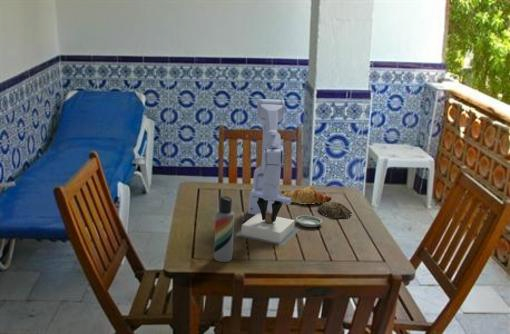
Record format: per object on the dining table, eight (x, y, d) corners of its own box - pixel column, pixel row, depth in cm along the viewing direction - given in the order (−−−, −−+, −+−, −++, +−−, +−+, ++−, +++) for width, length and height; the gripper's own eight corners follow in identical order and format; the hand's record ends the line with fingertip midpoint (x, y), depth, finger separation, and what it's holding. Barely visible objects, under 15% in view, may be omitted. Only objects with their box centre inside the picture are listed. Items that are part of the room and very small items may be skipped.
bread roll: (314, 210, 220) (315, 198, 219) (341, 207, 225) (342, 196, 224) (329, 221, 209) (331, 208, 208) (357, 218, 213) (359, 206, 212)
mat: (234, 235, 189) (234, 234, 189) (254, 220, 204) (254, 220, 204) (283, 246, 182) (283, 245, 182) (300, 230, 197) (300, 229, 197)
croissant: (279, 210, 228) (280, 196, 222) (280, 193, 235) (281, 179, 230) (330, 212, 227) (332, 199, 221) (330, 195, 234) (331, 182, 229)
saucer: (327, 226, 203) (327, 220, 202) (311, 232, 196) (311, 226, 195) (306, 219, 209) (306, 213, 209) (290, 224, 202) (290, 218, 202)
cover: (241, 234, 189) (242, 214, 187) (257, 222, 202) (258, 203, 200) (279, 243, 184) (281, 222, 182) (294, 229, 197) (295, 210, 195)
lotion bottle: (213, 254, 173) (216, 194, 168) (231, 254, 174) (234, 194, 168) (213, 262, 168) (216, 200, 162) (232, 262, 168) (235, 200, 163)
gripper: (247, 182, 187) (245, 219, 191) (287, 189, 182) (284, 227, 186) (255, 177, 194) (253, 213, 197) (294, 184, 188) (291, 221, 192)
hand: (268, 220), depth 192 cm, fingers closed on cover, 3 cm apart
